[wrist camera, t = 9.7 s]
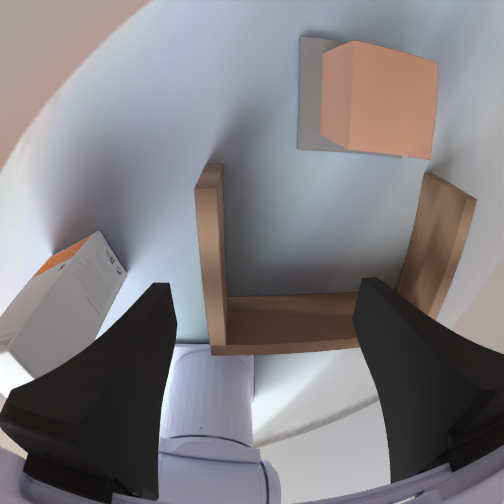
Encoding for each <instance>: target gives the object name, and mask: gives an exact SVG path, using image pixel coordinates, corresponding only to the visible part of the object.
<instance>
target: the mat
mask: <svg viewBox="0 0 504 504" xmlns="http://www.w3.org/2000/svg"><path fill="white" fill-rule="evenodd" d="M345 43H348V42H343V41H336V40H329V39H322V38H313V37H304V36H301V37H300V38H299V93H298V129H297V149H298V150H314V151H332V152H347V153H359V154H370V155H380V156H389V157H397V158H402V156H401V155H394V154H386V153H377V152H368V151H358V150H348V149H346V148H344V147H343V146H341V145H339V144H337V143H335V142H333V141H331V140H329V139H328V138H326V137H324V136H322V135H320V116H321V91H322V54H323V53H325V52H327V51H329V50H332V49H334V48H336V47H338V46H341V45H343V44H345Z"/></svg>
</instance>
